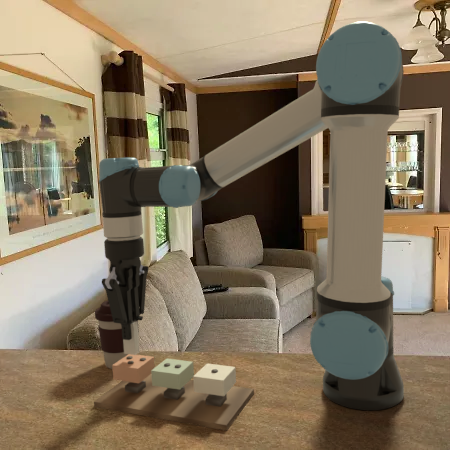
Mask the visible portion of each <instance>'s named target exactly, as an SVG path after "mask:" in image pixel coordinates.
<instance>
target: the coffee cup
mask: <svg viewBox="0 0 450 450" xmlns="http://www.w3.org/2000/svg"><path fill="white" fill-rule="evenodd" d="M94 318H95V319H96V320H97V321H98V325H97V326H98V333H99V334H98V335H99V339H100V345H101V346H100V347H101V350H102V353H103V359H104V364H105V367H106V368H108V369H111V370H113V368H112V365H113V364H115V363H116V362H118V361H119V360H121V359H122V358H124V357H125V356H127V355H128V354H124V344H123V338H122V327H121V324H120V323H114V322H113V318H112V314H111V310H110V306H109V301H108V299H107V300H104V301H103V302H102V303H101V304H100V307H98V308H97V309H95V311H94ZM136 355H138V354H136Z"/></svg>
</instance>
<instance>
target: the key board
mask: <svg viewBox="0 0 450 450" xmlns="http://www.w3.org/2000/svg"><path fill="white" fill-rule="evenodd" d="M254 394H255V389H254V388H250V387H243V386H235V385H233V386H232V388H231V389H230V390H229V391H228V392H227V393H226V395H225V396H219V395H212V394H205V393H199V392H194V380H192V379H191V380H190V381H189V382H187V383H186V384H185V385H184V386H183V387H182V388H181V389H180V390H179V389H172V388H166V387H159V386H153V385H152V375H151V374H150V375H149V376H148V377H147V378H145V379H144V380H143V381H141V382H140V383H133V382H126V381H120V382H118V383H117V384H116V385H114V386H113V387H112V388H110V389H109V390H107V391H106V392H105V393H104V394H103V395H101V396H100V397H98V398H97V399H95V400H94V401H93V406H94V408H101V409H106V410H111V411H116V412H120V413H121V412H122V413H128V414H132V415H140V416H146V417H150V418H154V419H155V418H157V419H161V420H166V421H172V422H178V423H184V424H188V425H194V426H200V427H205V428H211V429H216V430H221V431H222V430H223V431H228V430H229V428H230V427H231V426H232V425H233V423H234V422H235V420H236V419H237V418H238V416H239V415H240V413H241V412H242V411H243V410H244V409H245V406H246V405H247V404H248V403H249V401H250V400H251V398H252V397H253V395H254Z"/></svg>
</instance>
